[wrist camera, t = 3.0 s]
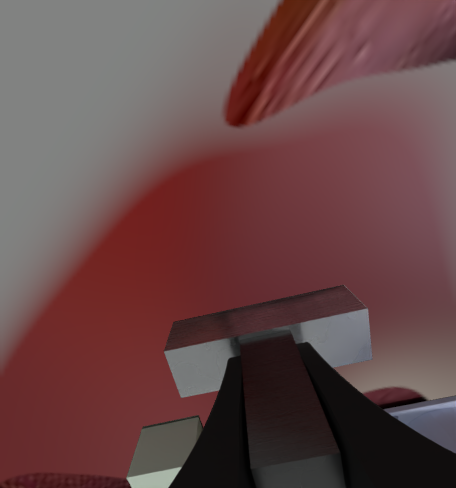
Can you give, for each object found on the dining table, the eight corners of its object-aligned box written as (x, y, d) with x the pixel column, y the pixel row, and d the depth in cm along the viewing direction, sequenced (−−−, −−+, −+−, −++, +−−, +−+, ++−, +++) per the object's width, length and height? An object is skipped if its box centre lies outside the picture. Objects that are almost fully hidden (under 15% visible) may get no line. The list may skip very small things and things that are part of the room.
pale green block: (198, 414, 17) (193, 464, 14) (214, 455, 18) (212, 509, 15) (142, 426, 17) (126, 477, 15) (161, 466, 19) (149, 520, 16)
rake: (343, 284, 14) (481, 420, 7) (348, 329, 15) (476, 494, 7) (173, 321, 15) (119, 486, 7) (187, 362, 16) (153, 548, 8)
